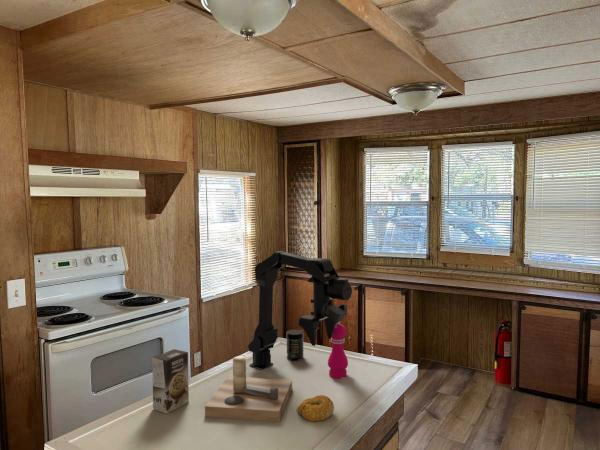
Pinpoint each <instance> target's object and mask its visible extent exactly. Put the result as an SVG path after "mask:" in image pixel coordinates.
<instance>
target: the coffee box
mask: <svg viewBox="0 0 600 450" xmlns="http://www.w3.org/2000/svg"><path fill="white" fill-rule="evenodd" d="M151 359H152V363H151V364H152V369H151V370H152V409H153V410H155V411H158V412H161V413H162V414H169V413H171V412H173V411H175V410H177V409H179V408H181V407H183V406H184V405H187V404H188V403H189V402H190V399H189V398H190V396H189V395H190V394H189V393H190V392H189V352H188V351H184V350H180V349H179V350H178V349H176V348H175V349H171V350H169V351H166V352H162V353H160V354H157V355H155V356H152V357H151Z"/></svg>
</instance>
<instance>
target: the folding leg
mask: <svg viewBox="0 0 600 450" xmlns="http://www.w3.org/2000/svg"><path fill="white" fill-rule="evenodd" d="M232 377H233V391H234V392H237V393H241V392H245V393H251V394H256V395H261V396H266V397H270V398H271V399H278V388H276V387H273V388H270V390H268V389H263V388H257V387H252V386H247V385H246V378H247V358H246V357H245V356H241V355H239V356H234V357H233V358H232Z"/></svg>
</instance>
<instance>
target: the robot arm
mask: <svg viewBox="0 0 600 450" xmlns="http://www.w3.org/2000/svg"><path fill="white" fill-rule="evenodd" d="M284 265H286V266H289V267H292V268H296V269H299V270H303V271H305V272H306V273H307V274H308V275H310V276H311V277H310V278H309V279H307V282H308V283H312V298H311V299H310V303H311V304H312V305H313V306H312V311H311V310H310V315H308V314H306V315H303V316H300V317H299V318H298V320H297V322H298V323H297V325H298V326H299V327H300V328H302V329H303V330H304V331H303V332H304V333H305V334H306V336H307V338H308V340H309V342H310V345H312V346H313V347H315V346H316V341H317V331H318V330H319V329H320V328H321V326H320V322H321V321H323V322H324V327H325V332H326V336H327V339H329V340H331V338H332V335H333V332H334V328H335V326H336V323H338V322H340V323H341V322H343V321H344V318H345V317H346V316H347V315H348V306H347V305H346V304H345V303H343V304H340V305H338V304H337V305H335V304H334V303H335V302H334V300H339V301H340V300H341V301H346V302H347V301H349V300H350V299H351V297H352V295H353V288H352V285H351V283H349V279H348V278H340V275H339V274H338V273H337V271H336V269H335V267H334V265H333V262H332V260H331V259H329V258H326V257H325V258H322V257H317V258H316V257H315V258H311V257H306V256H304V255H303V256H302V255H298V254H295V253H290V252H287V251H285V250H279V251H274V252H273V253H272V254H271V255H270V256H269V257H267V258H265V259H264V260H262V261H261V262H258V263H257V264H256V265H255V267H254V273H255V275H254V276H255V280H256V282H257V283H258V285H259V290H258V291H259V292H258V293H259V300H258V302H259V303H258V323H257V326H256V328H255V330H254V333H253V339H252V340H251V342H250V343H249V344H248V345H247V348H248V351H249V352H251V353H252V363H250V364H249V366H250V367H252V368H256V369H259V370H264V369H266V368H269V367H270V366H273V365H274V363H273V362H272V354H271V349H273V348H274V346H275V344H276V343H277V339H278V338H279V336H278V331H279V330H278V329H279V328H277V327H275V326H274V325H273V304H274V303H273V302H274V301H273V300H274V299H273V297H274V296H273V295H274V285H275V284H276V283H275V282H276V281H277V279H278V276H279V275H278V274H279V270H280V269H281V268H283V267H284ZM333 299H334V300H333Z"/></svg>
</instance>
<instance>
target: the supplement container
mask: <svg viewBox="0 0 600 450" xmlns="http://www.w3.org/2000/svg"><path fill="white" fill-rule="evenodd" d="M285 338H286V358H287V360H290V361H293V362H294V361H295V362H296V361H300V360H302V359H303V358H304V331H303V330H300V329H289V330H287V331H286V336H285Z"/></svg>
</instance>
